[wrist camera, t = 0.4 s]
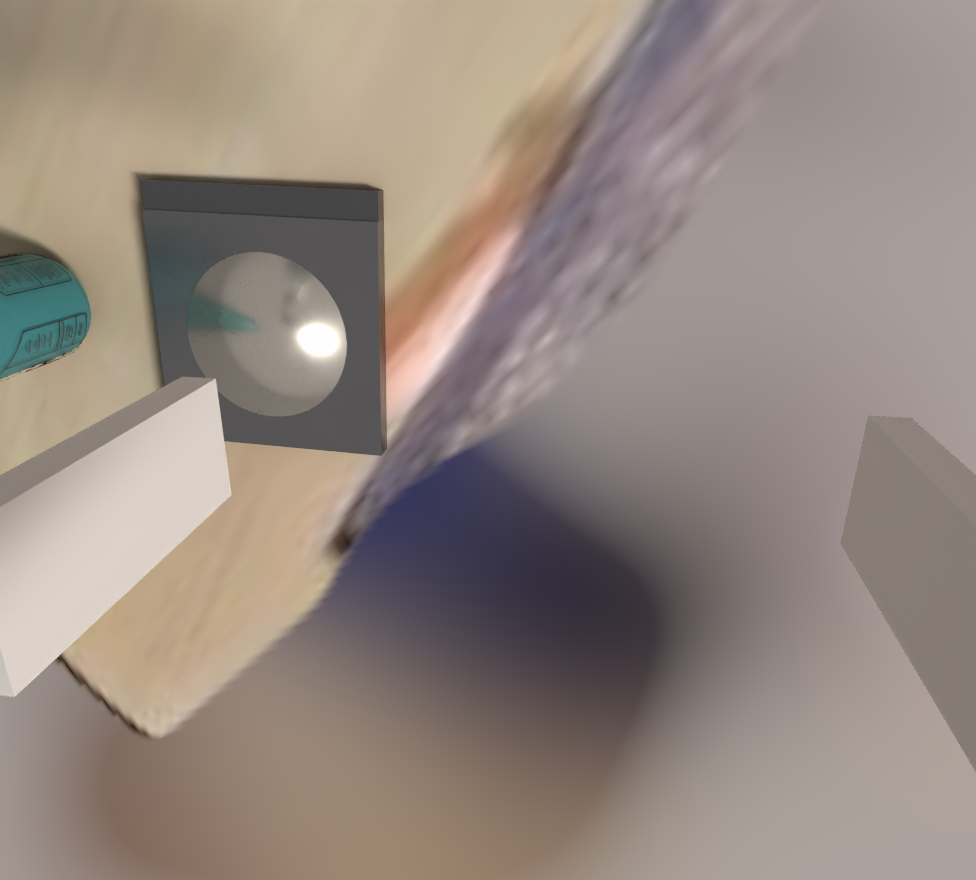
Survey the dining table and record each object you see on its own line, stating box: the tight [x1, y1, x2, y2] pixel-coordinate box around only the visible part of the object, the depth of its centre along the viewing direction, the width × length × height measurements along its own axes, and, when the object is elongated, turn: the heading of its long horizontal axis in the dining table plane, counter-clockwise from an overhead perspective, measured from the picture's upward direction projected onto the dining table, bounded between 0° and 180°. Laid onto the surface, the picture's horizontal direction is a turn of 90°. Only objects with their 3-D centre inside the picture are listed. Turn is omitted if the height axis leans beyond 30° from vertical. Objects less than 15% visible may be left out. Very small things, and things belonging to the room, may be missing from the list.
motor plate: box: [140, 179, 387, 456], centre depth 44 cm, size 16×14×1 cm
